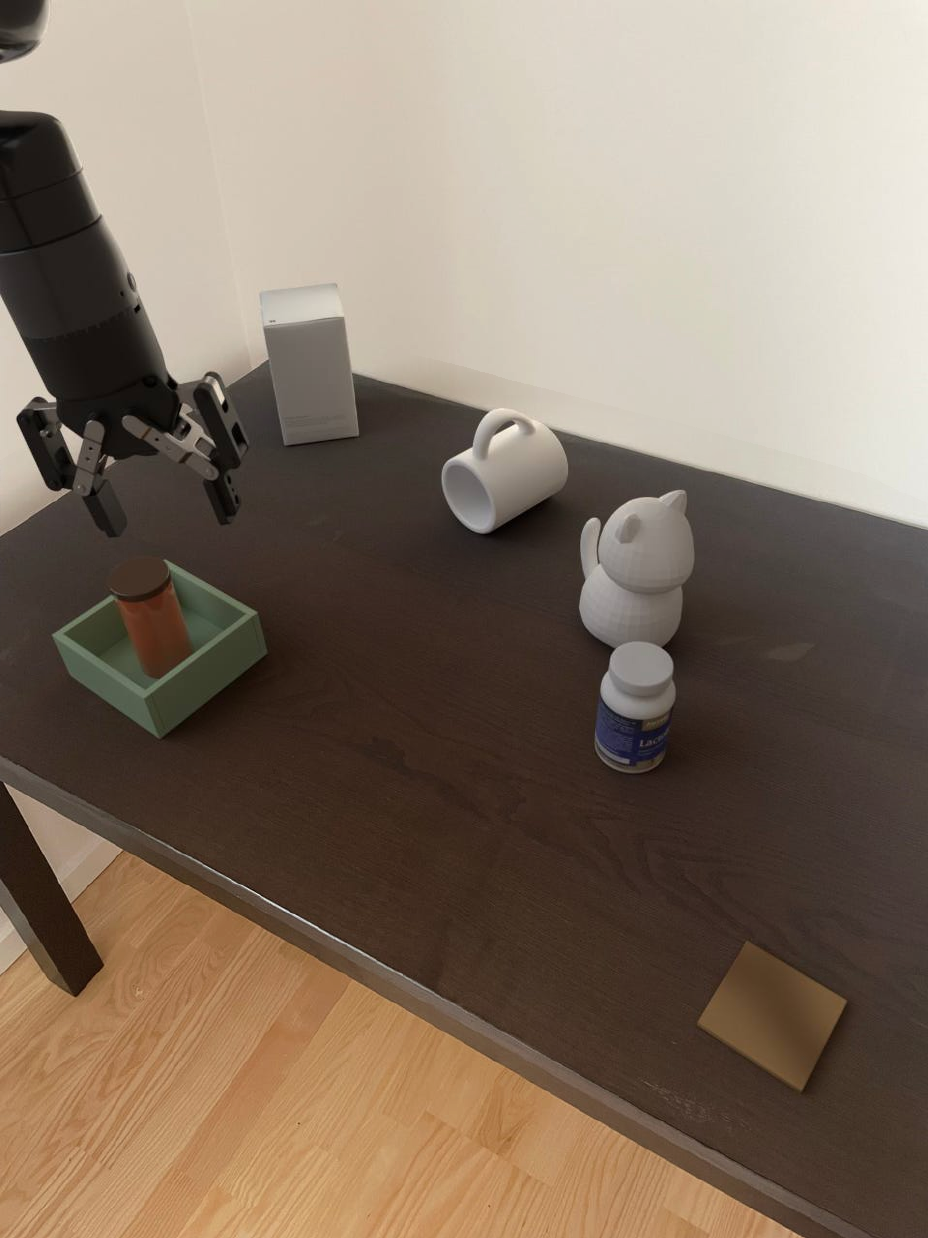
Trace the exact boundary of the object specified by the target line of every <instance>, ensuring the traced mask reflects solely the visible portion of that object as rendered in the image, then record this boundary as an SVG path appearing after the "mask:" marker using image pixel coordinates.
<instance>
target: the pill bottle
mask: <svg viewBox="0 0 928 1238" xmlns="http://www.w3.org/2000/svg"><path fill="white" fill-rule="evenodd" d="M674 669H675V668H674V661H673V659H672V657H671V656H670V654H669V653H668V652H667V651H666V650H665V649H663V647H661V648H660V647H659V646H657V645H654V644H651V643H647V642H629V643H625V644H623V645H621V646H619V647H618V648H617V649H614V650H613V652H612V654H611V655H610V658H609V665H608V670H607V672H606V673H605V674H604V675H603V677H602V680H601V683H600V689H599V695H598V696H599V697H598V706H597V714H596V723H595V733H594V747H595V751H596V753H597V755H598V757H599V758H600V759H601V761H602V762H603V763H605V764H606V765H607V766H608V767H610V768H611V769H613V770H616V771H618V772H622V773H626V774H641V773H645V772H648V771H651V770H652V769H654V768H656V767H657V766H658V765H659V764H660V763H661V762H662V761H663V759H664V757H665V755H666V751H667V747H668V740H669V735H670V730H671V724H672V719H673V713H674V707H675V703H676V697H677V696H676V693H677V692H676V691H677V690H676V686H675V682H674V680H673V675H674Z"/></svg>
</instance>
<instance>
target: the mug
mask: <svg viewBox="0 0 928 1238" xmlns="http://www.w3.org/2000/svg"><path fill="white" fill-rule="evenodd" d="M511 421H512V422H513V423H514V424H513V425H511V426H509V427H507V428H505V429H504V430H500V432H498V433H496V432H497V431H498V429H500V428H501V427H502V426H503V425H504V424H506V423H508V422H511ZM568 464H569V463H568V459H567V455H566V453H565V450H564V448H563V445H562V443H561V442H560V440H559V438H558V437H557V436H556V435H555V434H554V432H553V431H552V430H551V429H550V428H549V427H548V426H546V425H545V424H543V423H542V422H540V421H537V420H535V419H530V418H529V417H527V416H526V415H525V414H523V413H522V412H519V411H517V410H515V409H512V408H505V407H500V408H494V409H493V410H490V411H489V412H487V413H486V414H485V415H484V416H483V418H481V421H480V422H479V424H478V426H477V429H476V431H475V434H474V437H473V442H472V447H469V448H467V450H464V451H463V452H461V453H459V454H457V455H455V456H453V457H451V458H450V459H448V460H447V461H446V462H445V464H444V465H443V467H442V470H441V487H442V491H443V494H444V497H445V500H446V501H447V504H448V506H449V508H450V510H451V511H452V512H453V515H454V516H455V517H456V518H457V519H458V520H459V522H460V523H461V524H462V525H463V526H464V527H466V528H467V529H469V530H470V531H472V532H474V533H477V534H481V535H486V534H490V533H491V532H493V531H495V530H496V529H498V528H499V527H501V526H503V525H505V524H507V523H508V522H510V521H511V520H513V519H515V518H516V517H518V516H520V515H521V514H523V513H524V512H526V511H527V510H530V509H531V508H533V507H535V506H536V505H537V504H540V503H541V502H543V501H545V500H546V499H548V498H550V497H551V496H553V495H555V494H556V493H558V492H559V491H561V490H562V489H563V488H564V486H565V485H566V482H567V480H568V477H569V465H568Z"/></svg>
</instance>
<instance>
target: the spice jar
mask: <svg viewBox="0 0 928 1238" xmlns="http://www.w3.org/2000/svg"><path fill="white" fill-rule="evenodd" d="M163 560H164V559H162V558H160V557H156V556H150V555H145V556H144V555H143V556H136V557H132V558H129V559H126V560H124V561H122V562H120V563H119V564H118V565H116V566H115V567H114V568H113V569H112V570H111V572H109V574H108V577H107V587H108V590H109V592H110V595H113V596H114V599H115V601H116V604H117V607H118V609H119V612H120V615H121V617H122V620H123V622H124V625H125V628H126V630H127V633H128V636H129V638H130V641H131V643H132V646H133V649H134V651H135V654H136V657H137V659H138V662H139V664H140V667H141V670H142V671H143V673H144V674H146V675H147V676H149V677H151V678H154V679H161V678H162V677H163V676H165V675H166V674H167V673H169V672H170V671H171V670H173V669H174V668H175V667H177V666H178V665H179V664H181V663H182V662H183V661H185V660H186V659H187V658H189V657H190V656H191V655H193V654H194V653H195V651H194V648H193V645H192V642H191V639H190V636H189V632H188V629H187V626H186V623H185V620H184V617H183V614H182V611H181V607H180V604H179V601H178V598H177V595H176V592H175V589H174V586H173V583H172V579H171V572H170V569H169V566H168V565H167V563H166V562H165V561H163Z"/></svg>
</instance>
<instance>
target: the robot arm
mask: <svg viewBox="0 0 928 1238" xmlns="http://www.w3.org/2000/svg"><path fill="white" fill-rule="evenodd" d="M51 16H52V0H0V65H4V64H7V63H12V62H15V61H18V60H21V59H23V58H25V57H27V56H29V55H30V54H32V53H33V52H34V51H35V50H37V48H39V46H40V45H41V43H42V42H43V40H44V39H45V37H46V35H47V32H48V30H49V25H50V22H51ZM0 298H1V300H2V301H3V304H4V306H5V307H6V310H7V312H8V314H9V316H10V318H11V320H12V322H13V324H14V326H15V328H16V331H17V332H18V334H19V336H20V338H21V340H22V342H23V344H24V346H25V348H26V350H27V352H28V354H29V356H30V359H31V360H32V362H33V365H34V366H35V369H36V370H37V373H38V375H39V376H40V379H41V381H42V383H43V385H44V387H45V389H46V391H47V392H48V393H49V394H50V396H52V397H53V398H55V401H50V402H48V400H47V399H46V398H44V397H42V396H35V397H33V398H32V399H31V400H30V401H29V402H28V403H27V405H26V406H24V408H23V409H22V410H21V411H20V412H19V413H18V414H17V415H16V418H15V421H16V424H17V426H18V428H19V430H20V432H21V434H22V436H23V439H24V441H25V443H26V445H27V448H28V449H29V452H30V454H31V456H32V458H33V460H34V463H35V465H36V467H37V470H38V471H39V474H40V475H41V477H42V480H43V482H44V484H45V487H47V488H48V489H49V490H50V491H53V492H60V491H61V490H68V491H69V490H70V491H73V492H74V493H75V494H76V495H78V496H80V497H81V498H82V500H83V502H84V504H85V506H86V509H87V510H88V513H89V514H90V516H91V519H93V522H94V524H95V526H96V527H97V528H98V529H99V530H100V531H101V532H104V533H105V534H106V536H107V537H108V538H111V539H112V538H119V537H121V536H122V534H123V533H124V531H125V530H126V529H127V527H128V521H129V520H128V517H127V515H126V513H125V511H124V508H123V507H122V505H121V502H120V500H119V499H118V497H117V493H116V491H115V490H114V488H113V486H112V483H111V481H110V480H109V478H105V479H103V476H104V473H105V469H106V466H107V462H108V460H109V459H108V458H109V457H111V458H113V461H122V460H127V459H129V458H131V457H133V456H140V457H153V456H158V455H159V454H160V453H162V454H163V455H164V456H166V457H167V458H168V459H169V460H171V461H173V462H174V463H175V464H179V465H181V464H184V465H186V466H187V467H189V468H190V469H191V470H193V471H194V472H195V473H197V474H198V475H200V476H201V477H202V478H203V480H202V486H203V488H204V490H205V493H206V495H207V497H208V500H209V502H210V505H211V507H212V510H213V512H214V514H215V517H216V519H217V522H218V524H219V525H220V526H226V525H232V524H233V522H234V520H235V518H236V516H237V514H238V512H239V510H240V508H241V505H242V498H241V494H240V492H239V489H238V487H237V484H236V482H235V479H234V477H233V474H232V471H231V470H237V469H238V468H240V467H241V465H242V463H243V460H244V457H245V456H246V454H247V453H248V451H249V449H250V447H251V443H250V441H249V438H248V436H247V433H246V431H245V429H244V426H243V424H242V422H241V420H240V417H239V415H238V413H237V410H236V408H235V406H234V404H233V401H232V399H231V396H230V394H229V392H228V390H227V387H226V385H225V383H224V380H223V379H222V376H221V375H220V374H219V373H217V372H216V371H213V370H212V371H211V370H210V371H206V373H205V374H204V375H203V376H202V378H201V379H197V380H191V381H188V382H182V383H179V382H178V381H177V380H176V379H175V378H174V377H173V376H172V375H171V374H170V372H169V371H168V368H167V366H166V362H165V358H164V353H163V351H162V348H161V346H160V343H159V340H158V338H157V336H156V333H155V330H154V328H153V325H152V323H151V320H150V318H149V316H148V313H147V311H146V308H145V306H144V304H143V303H144V302H143V301H142V298H141V295H140V294H139V291H138V288H137V283H136V280H135V277H134V275H133V273H132V272H131V271H130V268H129V266H128V263H127V261H126V259H125V257H124V254H123V252H122V250H121V248H120V246H119V243H118V242H117V240H116V238H115V236H114V235H113V233H112V231H111V230H110V228H109V226H108V224H107V222H106V220H105V217H104V215H103V213H102V211H101V208H100V206H99V204H98V201H97V198H96V197H95V194H94V191H93V189H92V187H91V184H90V182H89V179H88V176H87V174H86V171H85V169H84V167H83V164H82V161H81V159H80V156H79V154H78V151H77V149H76V146H75V144H74V142H73V140H72V138H71V136H70V134H69V132H68V130H67V129H66V127H65V125H64V123H62V122H61V121H60V119H58V118H57V117H55V116H54V115H51V114H49V113H47V112H43V111H42V112H40V111H33V110H31V111H27V110H3V109H0ZM183 404H185V405H187V406H189V407H190V408H191V410H192V412H193V414H194V416H197V417H200V416H201V418H202V420H203V422H204V424H205V426H206V428H207V431H208V434H209V435H210V436H207V435H206V433H205V432H204V429H203V427H202V426H201V425H199V424H198V423H197V422H196V421H195V420H193V419H192V418H191V417H189V416H188V415H186V414H185V413H184V412H182V411H181V410H182V407H183ZM63 426H64V427H66V428H67V429H68V430H70V431H71V432H73V433H74V434H75V435H76V436H78V437H79V438H81V439H82V443H81V447H80V450H79V453H78V458H77V461H76V462H75V461H74V458H73V456H72V454H71V452H70V449H69V447H68V444H67V442H66V440H65V438H64V435H63V433H62V431H61V429H62V428H63ZM175 432H176V433H178V435H179V436H180V437H181V440H178V439H177V438H176V437H174V434H175ZM210 437H211V438H210Z"/></svg>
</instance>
